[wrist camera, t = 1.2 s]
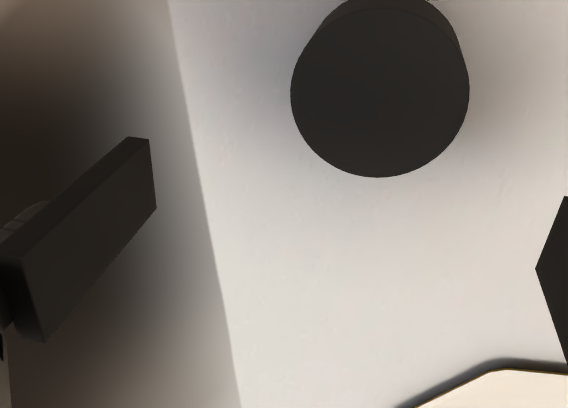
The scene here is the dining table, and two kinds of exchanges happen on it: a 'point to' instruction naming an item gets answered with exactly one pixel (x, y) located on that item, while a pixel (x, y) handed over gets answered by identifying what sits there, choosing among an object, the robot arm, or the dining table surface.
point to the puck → (380, 87)
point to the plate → (506, 391)
